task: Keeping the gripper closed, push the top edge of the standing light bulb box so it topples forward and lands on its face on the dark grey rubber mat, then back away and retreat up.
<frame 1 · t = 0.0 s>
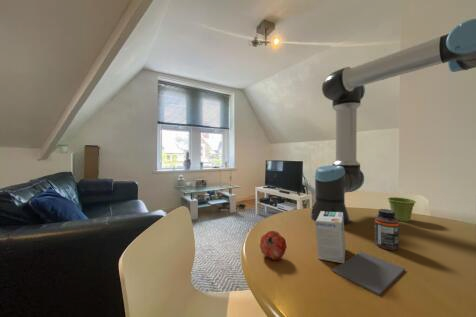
red round fruit: (273, 257, 55), on the table
mat: (368, 270, 48), on the table
light bulb box: (332, 253, 56), on the table, touching mat
plant pot: (401, 219, 84), on the table
supplement bottle: (386, 246, 60), on the table
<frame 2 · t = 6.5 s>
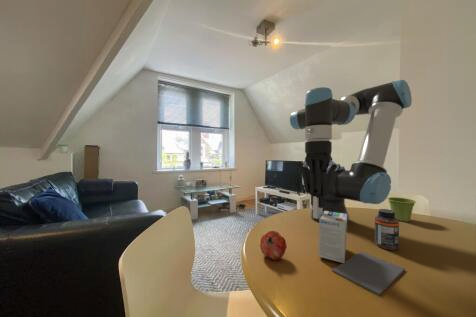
hand: (317, 217, 60), 10 cm above the table, tool pointing down, fingers closed
light bulb box: (332, 253, 56), on the table, touching gripper, mat
everything else where it was.
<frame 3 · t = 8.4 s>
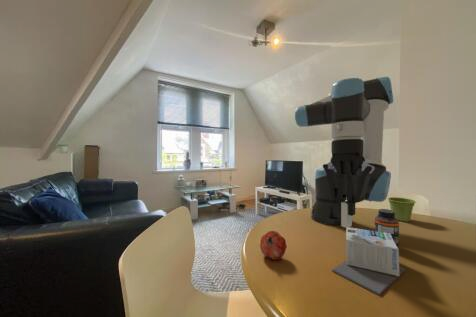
hand: (346, 225, 53), 9 cm above the table, tool pointing down, fingers closed
light bulb box: (345, 244, 54), point 4 cm above the table, touching mat
everything else where it was.
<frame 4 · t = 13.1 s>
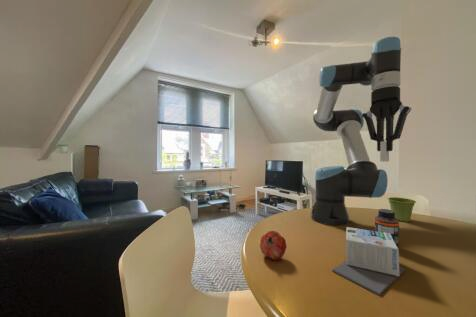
hand: (384, 161, 64), 26 cm above the table, tool pointing down, fingers closed
nothing on the table moved.
at the end: light bulb box tilted 89°; light bulb box inside the target area (5.2 cm from its centre), point 3.7 cm above the table; the gripper is holding nothing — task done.
